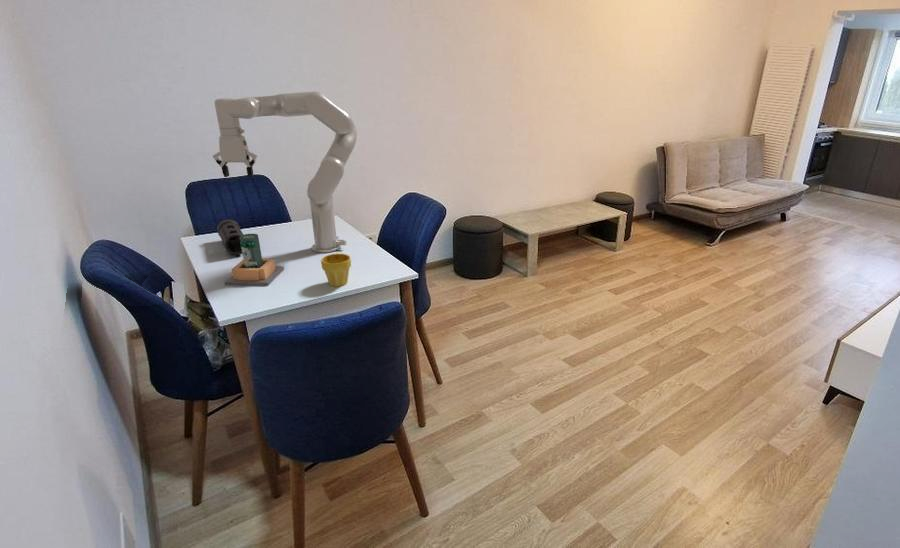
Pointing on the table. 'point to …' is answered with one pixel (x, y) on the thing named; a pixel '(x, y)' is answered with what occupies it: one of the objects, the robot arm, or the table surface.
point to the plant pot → (336, 268)
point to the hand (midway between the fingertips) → (238, 176)
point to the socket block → (254, 274)
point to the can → (251, 250)
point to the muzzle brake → (230, 236)
